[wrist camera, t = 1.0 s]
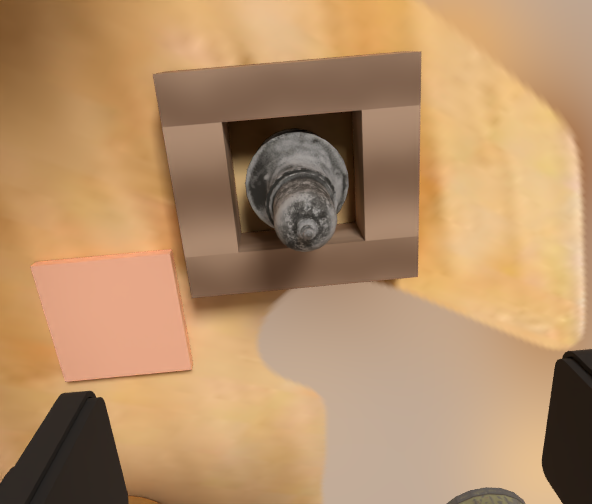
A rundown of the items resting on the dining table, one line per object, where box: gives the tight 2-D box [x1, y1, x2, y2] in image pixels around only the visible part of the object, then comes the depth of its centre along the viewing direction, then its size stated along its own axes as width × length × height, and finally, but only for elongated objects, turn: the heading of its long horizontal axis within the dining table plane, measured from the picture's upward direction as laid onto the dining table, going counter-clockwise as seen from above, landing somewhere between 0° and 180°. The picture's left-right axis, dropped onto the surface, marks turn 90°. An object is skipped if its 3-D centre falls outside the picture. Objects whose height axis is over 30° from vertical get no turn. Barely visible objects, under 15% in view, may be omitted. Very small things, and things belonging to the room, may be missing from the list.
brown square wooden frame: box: [153, 52, 421, 298], centre depth 30 cm, size 13×14×4 cm
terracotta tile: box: [30, 249, 193, 382], centre depth 34 cm, size 9×9×1 cm
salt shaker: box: [245, 129, 349, 252], centre depth 26 cm, size 6×6×12 cm
